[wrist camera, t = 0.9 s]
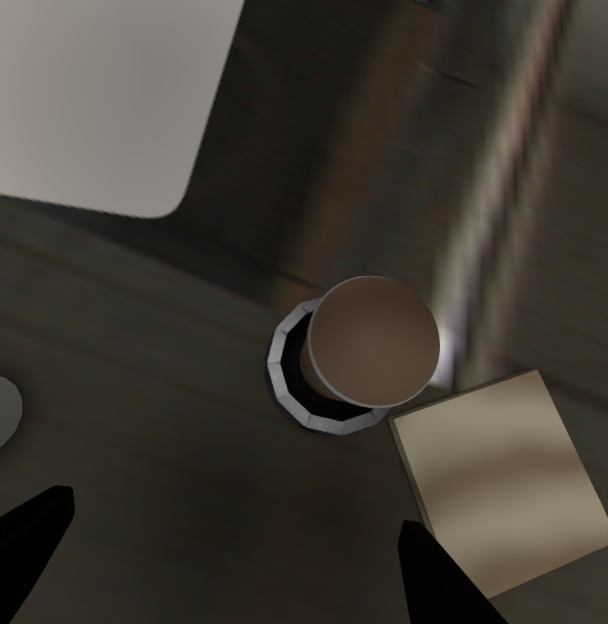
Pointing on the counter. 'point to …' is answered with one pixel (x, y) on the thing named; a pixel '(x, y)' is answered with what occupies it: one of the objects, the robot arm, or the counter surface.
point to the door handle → (423, 1)
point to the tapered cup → (370, 344)
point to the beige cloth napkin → (500, 481)
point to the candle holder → (295, 395)
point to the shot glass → (9, 409)
